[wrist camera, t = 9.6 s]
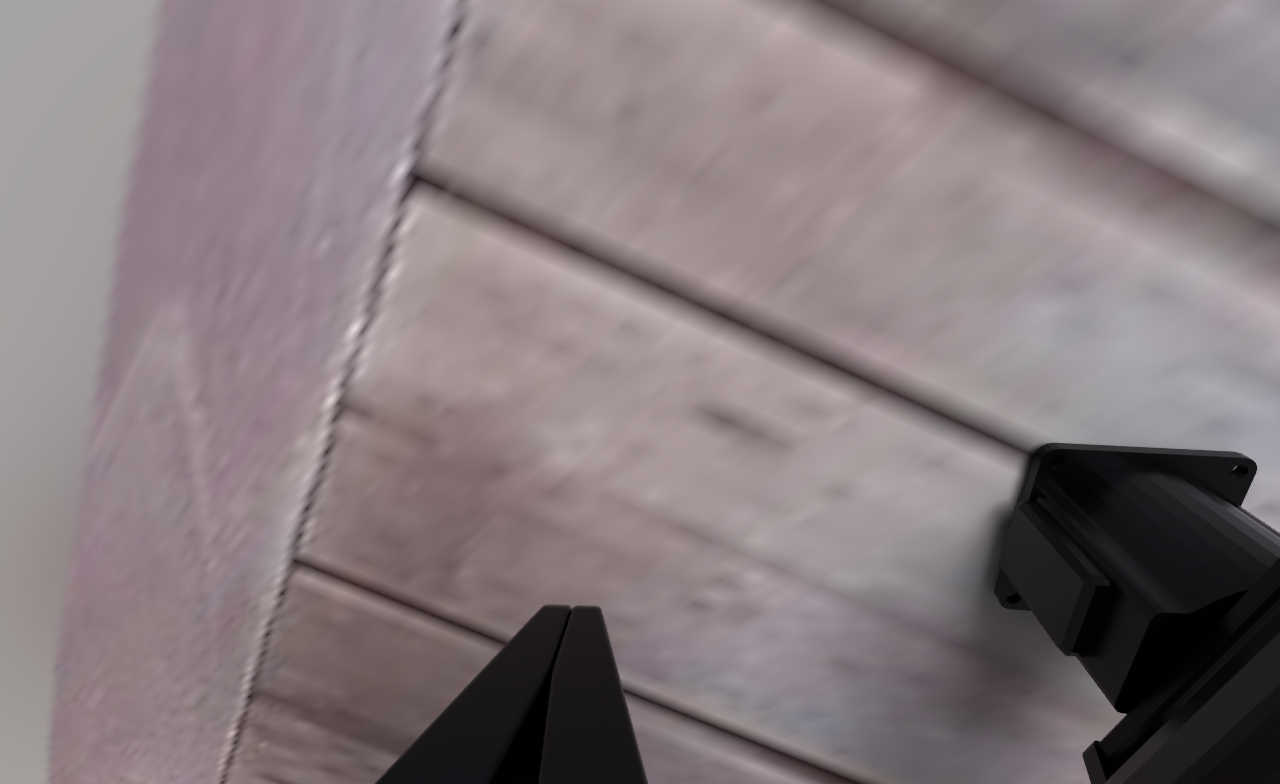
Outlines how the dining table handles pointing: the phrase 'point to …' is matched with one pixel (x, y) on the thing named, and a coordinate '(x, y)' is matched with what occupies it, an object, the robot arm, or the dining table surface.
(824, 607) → the dining table surface
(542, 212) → the dining table surface
